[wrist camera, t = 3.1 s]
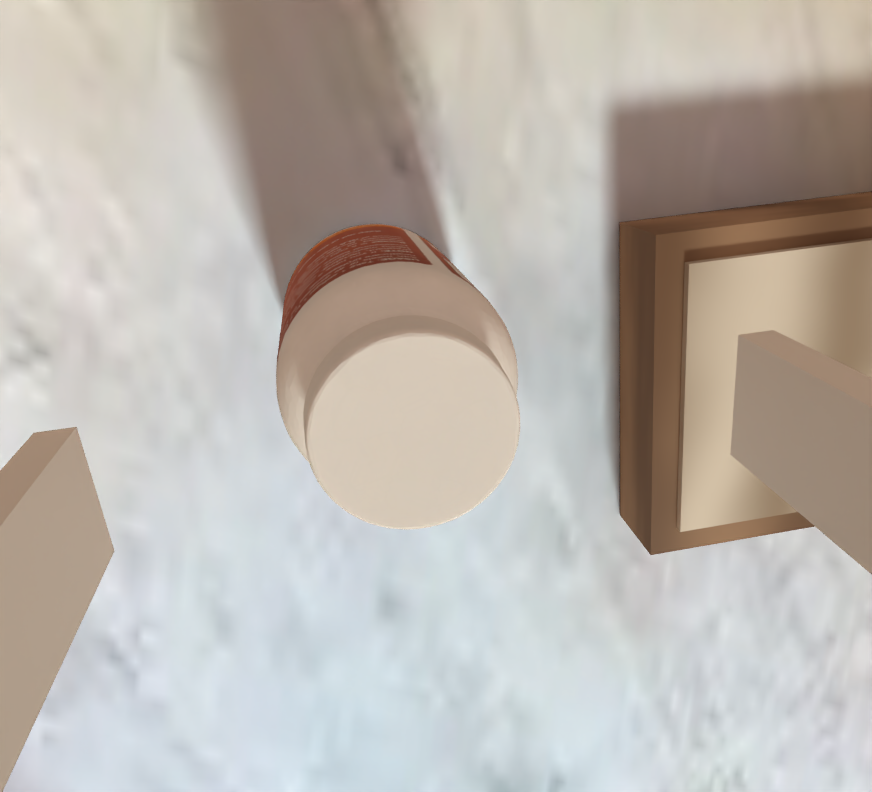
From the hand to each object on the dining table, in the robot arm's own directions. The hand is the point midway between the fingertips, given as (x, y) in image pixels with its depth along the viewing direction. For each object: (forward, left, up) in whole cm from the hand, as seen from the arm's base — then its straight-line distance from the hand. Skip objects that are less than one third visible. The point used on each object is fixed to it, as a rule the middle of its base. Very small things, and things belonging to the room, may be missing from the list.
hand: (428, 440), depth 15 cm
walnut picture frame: (+15, -4, -12) cm, 20 cm away
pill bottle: (0, 0, -12) cm, 12 cm away
